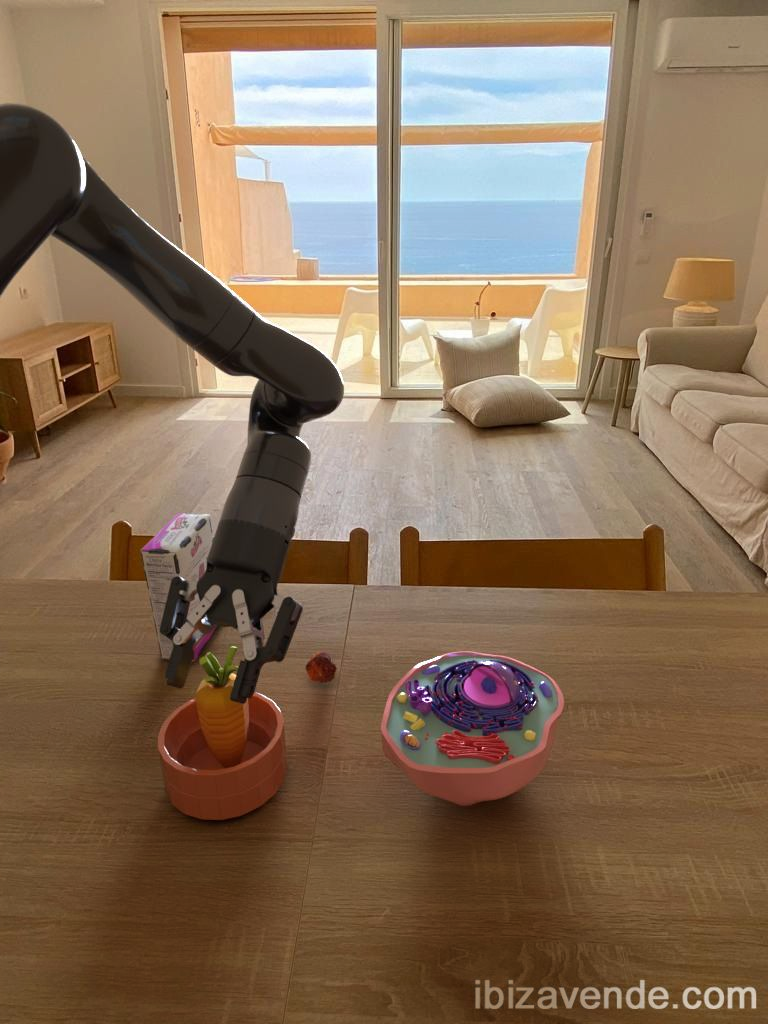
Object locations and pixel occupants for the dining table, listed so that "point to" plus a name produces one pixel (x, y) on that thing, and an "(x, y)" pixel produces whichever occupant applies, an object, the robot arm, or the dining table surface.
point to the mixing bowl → (205, 781)
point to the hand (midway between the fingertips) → (205, 693)
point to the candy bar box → (176, 566)
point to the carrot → (222, 711)
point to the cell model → (471, 725)
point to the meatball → (321, 668)
